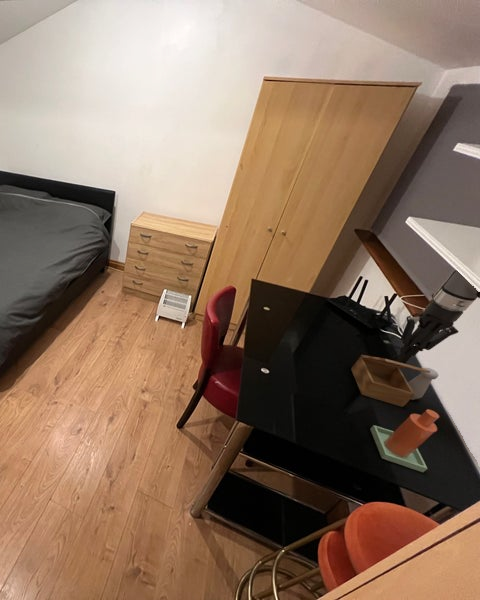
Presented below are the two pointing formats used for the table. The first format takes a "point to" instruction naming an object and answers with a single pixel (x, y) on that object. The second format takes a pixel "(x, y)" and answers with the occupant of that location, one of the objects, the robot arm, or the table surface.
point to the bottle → (412, 433)
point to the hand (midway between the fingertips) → (400, 360)
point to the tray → (411, 461)
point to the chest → (382, 381)
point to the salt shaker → (422, 382)
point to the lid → (395, 363)
